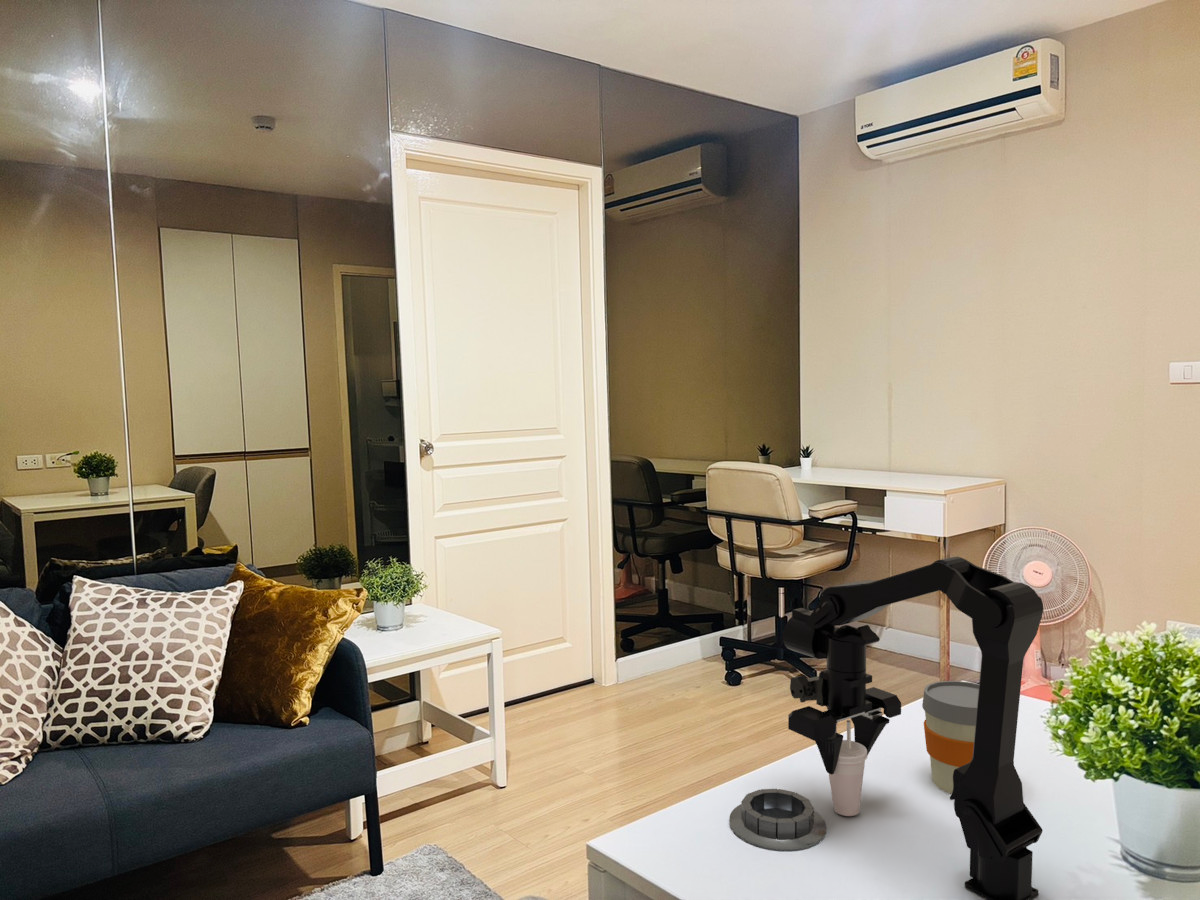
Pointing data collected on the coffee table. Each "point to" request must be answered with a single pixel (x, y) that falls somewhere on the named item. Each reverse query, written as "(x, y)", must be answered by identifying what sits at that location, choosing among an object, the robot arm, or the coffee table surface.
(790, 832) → the mount
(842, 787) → the smoothie
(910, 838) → the coffee table surface
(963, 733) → the reusable coffee cup
